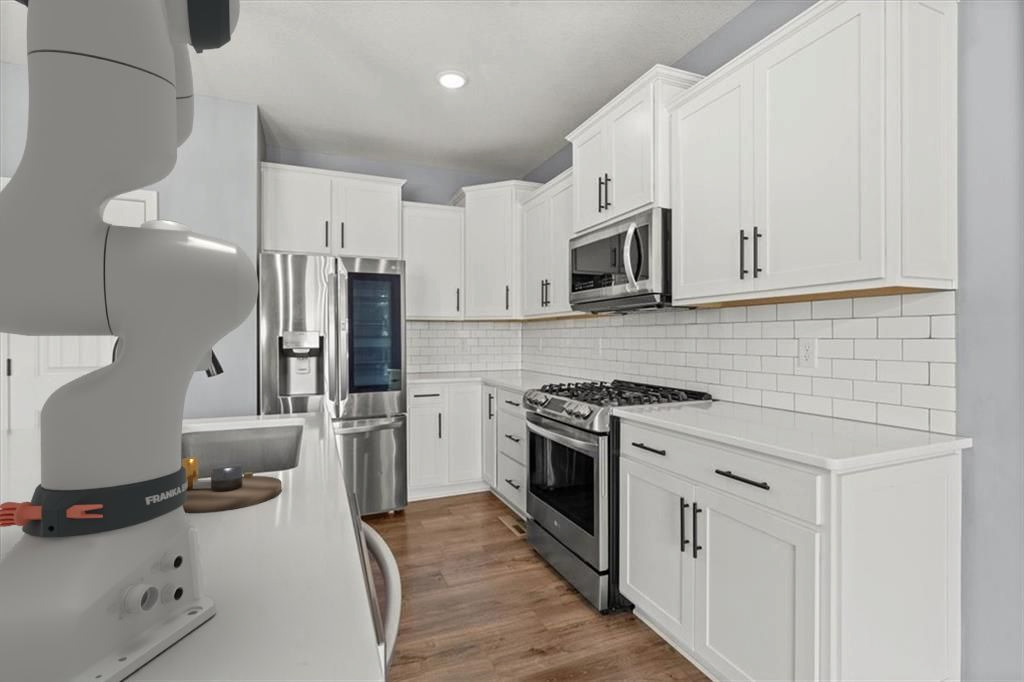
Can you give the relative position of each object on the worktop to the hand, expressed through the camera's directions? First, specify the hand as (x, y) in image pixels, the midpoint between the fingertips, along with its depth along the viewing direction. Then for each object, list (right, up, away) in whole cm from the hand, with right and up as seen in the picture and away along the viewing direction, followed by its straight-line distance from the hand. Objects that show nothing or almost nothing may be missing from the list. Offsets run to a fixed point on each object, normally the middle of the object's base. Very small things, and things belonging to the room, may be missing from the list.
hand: (168, 401), depth 88 cm
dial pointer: (+4, -16, +6) cm, 18 cm away
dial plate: (+7, -18, +6) cm, 20 cm away
